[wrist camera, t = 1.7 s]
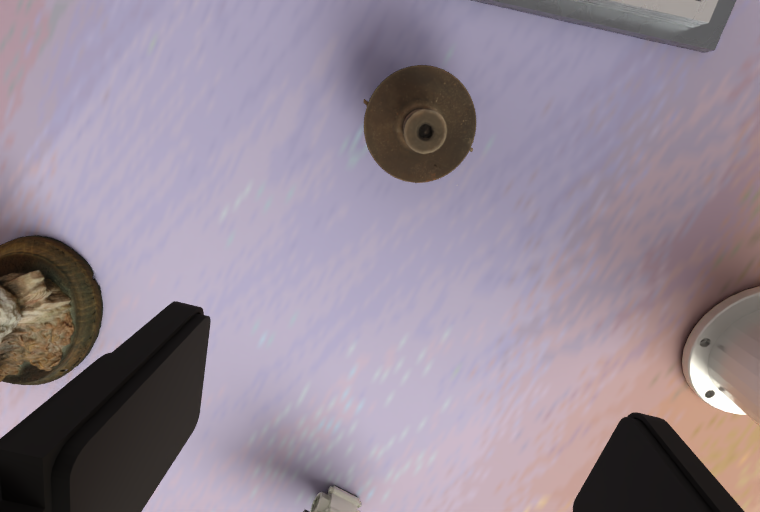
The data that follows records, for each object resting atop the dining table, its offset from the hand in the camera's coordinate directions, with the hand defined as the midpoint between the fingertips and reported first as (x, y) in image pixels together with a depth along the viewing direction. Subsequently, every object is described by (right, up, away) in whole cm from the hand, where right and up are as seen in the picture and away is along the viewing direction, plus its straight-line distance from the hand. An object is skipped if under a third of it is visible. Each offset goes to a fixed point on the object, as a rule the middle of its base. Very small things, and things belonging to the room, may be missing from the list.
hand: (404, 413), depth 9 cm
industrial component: (+3, +13, +22) cm, 26 cm away
